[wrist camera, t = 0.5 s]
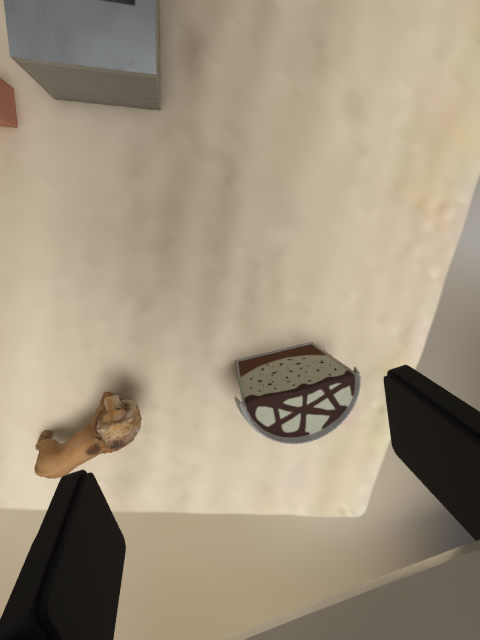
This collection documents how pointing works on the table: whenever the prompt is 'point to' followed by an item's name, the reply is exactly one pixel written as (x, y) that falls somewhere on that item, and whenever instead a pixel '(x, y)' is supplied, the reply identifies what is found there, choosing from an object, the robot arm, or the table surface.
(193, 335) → the table surface
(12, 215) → the table surface
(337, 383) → the food container
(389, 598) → the robot arm
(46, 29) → the box
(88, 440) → the lion figurine
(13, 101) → the block
